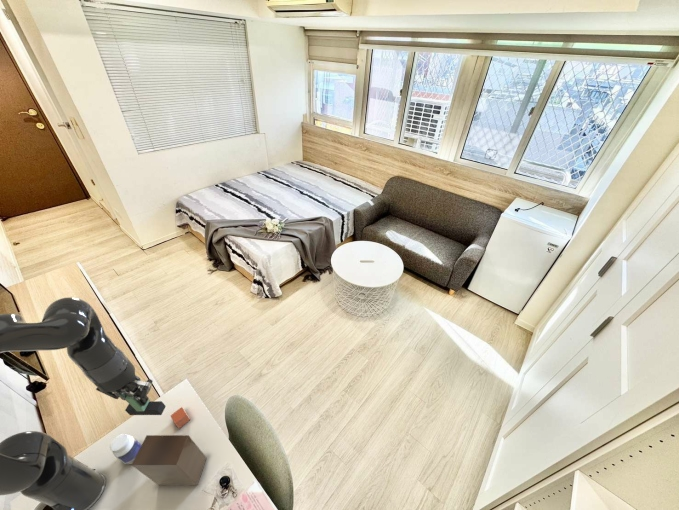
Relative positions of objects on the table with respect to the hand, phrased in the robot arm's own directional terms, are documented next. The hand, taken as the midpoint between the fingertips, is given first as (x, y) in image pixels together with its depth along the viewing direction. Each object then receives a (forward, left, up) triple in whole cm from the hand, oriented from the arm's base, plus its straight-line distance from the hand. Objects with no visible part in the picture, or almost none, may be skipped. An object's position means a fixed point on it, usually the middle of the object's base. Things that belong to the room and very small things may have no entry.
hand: (140, 402), depth 74 cm
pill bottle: (-7, +11, -29) cm, 32 cm away
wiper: (0, 0, -5) cm, 5 cm away
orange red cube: (+6, +4, -28) cm, 29 cm away
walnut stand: (-5, -8, -28) cm, 30 cm away
